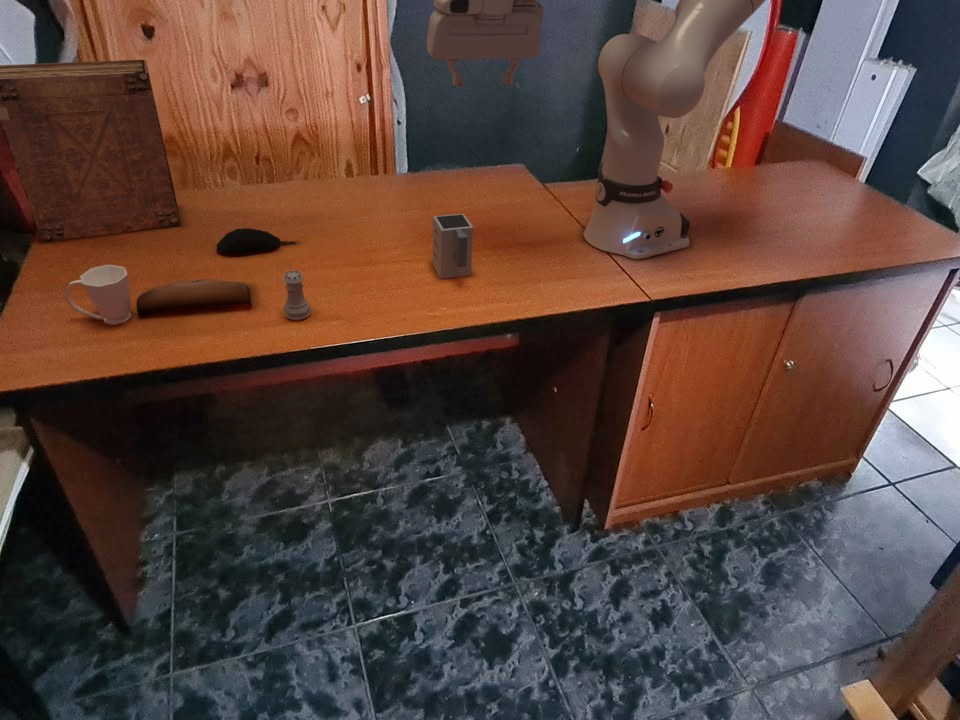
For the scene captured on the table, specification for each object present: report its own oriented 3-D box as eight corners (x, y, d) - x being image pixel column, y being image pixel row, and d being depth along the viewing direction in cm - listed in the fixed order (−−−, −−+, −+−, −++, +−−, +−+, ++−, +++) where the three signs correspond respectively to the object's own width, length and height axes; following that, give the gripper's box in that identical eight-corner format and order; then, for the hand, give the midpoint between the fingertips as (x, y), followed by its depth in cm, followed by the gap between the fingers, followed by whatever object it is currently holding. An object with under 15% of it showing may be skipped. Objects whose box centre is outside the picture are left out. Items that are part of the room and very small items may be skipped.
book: (41, 242, 132) (-18, 79, 114) (44, 222, 139) (-12, 65, 121) (182, 225, 141) (148, 71, 123) (178, 207, 147) (145, 59, 129)
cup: (135, 328, 111) (122, 285, 106) (68, 331, 110) (52, 288, 105) (144, 305, 117) (132, 263, 112) (80, 307, 115) (65, 265, 110)
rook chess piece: (284, 322, 115) (279, 281, 110) (283, 308, 118) (278, 267, 113) (312, 320, 116) (307, 278, 111) (310, 306, 119) (305, 265, 115)
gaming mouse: (297, 250, 135) (295, 232, 133) (218, 259, 131) (214, 240, 128) (293, 236, 140) (291, 218, 137) (216, 243, 135) (213, 225, 133)
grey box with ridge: (461, 260, 135) (476, 284, 128) (431, 263, 134) (445, 288, 127) (463, 213, 129) (479, 235, 122) (432, 215, 128) (446, 238, 121)
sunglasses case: (251, 281, 124) (246, 262, 118) (254, 316, 121) (250, 298, 115) (143, 290, 119) (133, 271, 113) (144, 326, 117) (133, 309, 111)
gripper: (537, -5, 121) (529, 77, 129) (424, -5, 115) (424, 81, 124) (551, 2, 116) (542, 87, 125) (434, 2, 111) (433, 91, 119)
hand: (482, 84), depth 124 cm, fingers open, 8 cm apart
